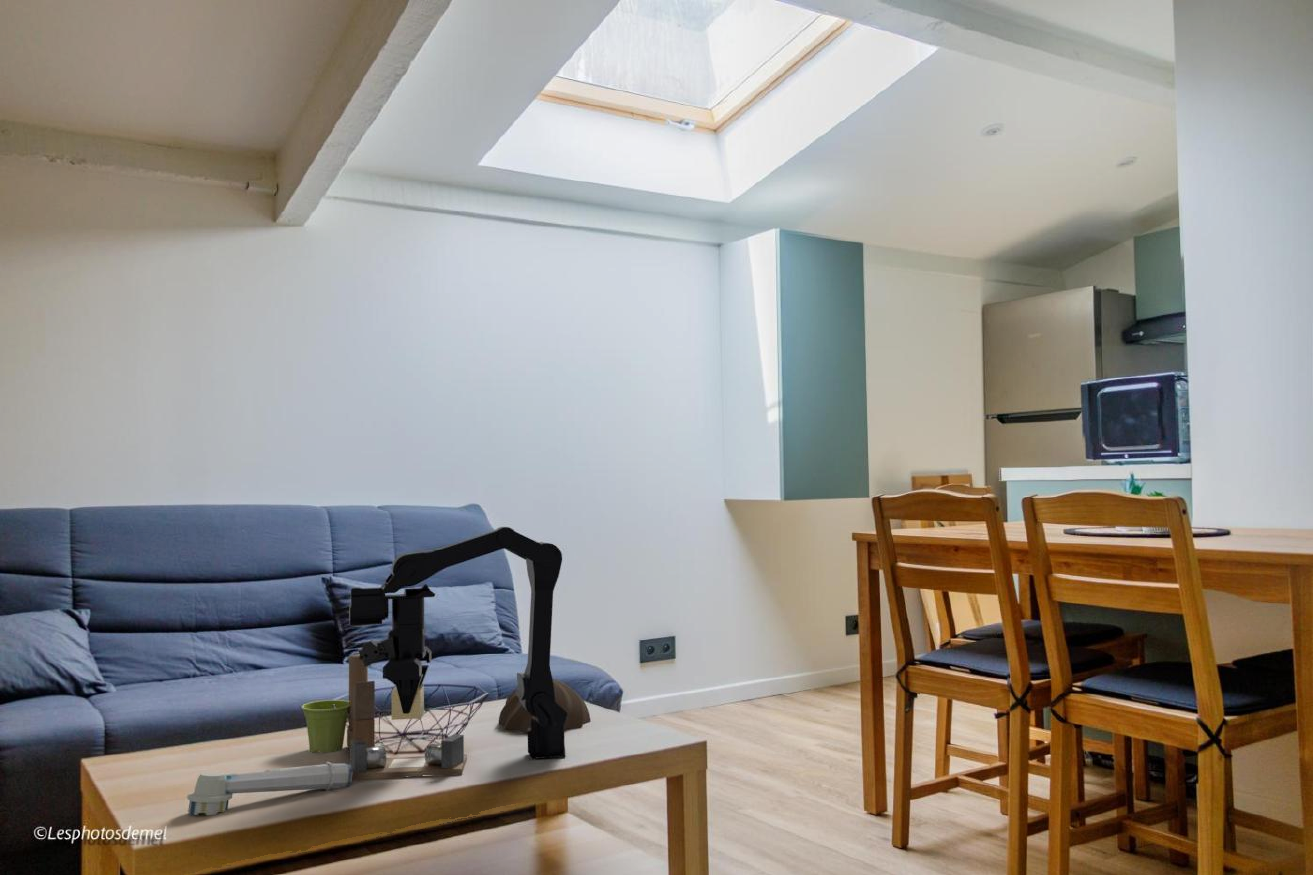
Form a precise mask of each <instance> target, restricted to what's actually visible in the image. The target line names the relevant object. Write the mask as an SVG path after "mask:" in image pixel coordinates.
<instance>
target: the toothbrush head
mask: <svg viewBox="0 0 1313 875" xmlns="http://www.w3.org/2000/svg"><path fill="white" fill-rule="evenodd" d="M352 773H353V772H352V767H351V765H350V763H346V762H345V763H331V762H330V761H326V763H324V764H314V765H313V764H311V765H305V766H293V767H285V768H284V767H283V768H274V769H265V770H256V771H255V770H253V771H246V772H245V771H243V772H238V773H237V772H235V773H226V772H221V771H206V772H203V773H200V774H199V776H198V777H197V780H196V784H195V787H194V790H193V791H190V792H189V793H187V797H186V799H187V800H188V801H189V802H188V803H189V804H188V810H187V812H188V813H189V814H190V815H194V816H198V815H199V814H205V816H216V815H217V813H220V812H221V813H225V812H226V811H227V810H228V808H229V800H232V798H233V795H234V794H248V793H249V794H250V793H252V794H253V793H266V792H268V793H269V792H270V793H271V792H282V791H283V792H287V791H288V792H289V791H291V792H292V791H304V790H307V791H308V790H309V791H310V790H326V791H330V790H331V789H339V788H346V787H350V785H351V783H352V781H353V780H352Z"/></svg>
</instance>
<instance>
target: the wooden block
mask: <svg viewBox="0 0 1313 875" xmlns="http://www.w3.org/2000/svg"><path fill="white" fill-rule="evenodd" d="M359 656H360V654H359V653H356V654H351V655H349V656H348V701H349V705H350V707H349V713H348V728H347V729H346V747H347V748H348V749H349V750H350V740H354V739H362V740H363V741H364V742H365V743H366V748H369V747H376V746H375V744H376V742H375V741H376V740H375V739H376V738H375V736H376V735H375V734H376V733H375V732H376V731H375V729H376V726H375V724H376V723H375V721H376V720H375V716H376V715H375V713H376V712H375V710H376V709H375V708H376V706H375V704H376V703H375V702H376V700H375V699H376V698H375V697H376V694H375V692H376V690H375V689H376V688H375V686H376V684H375V683H376V682H375V680H369V679H368V678H369V677H368V674H369V673H368V672H369V671H368V668H369V666H366V667H364V665H363V662H362V660H360V659H359ZM368 680H369V681H368Z"/></svg>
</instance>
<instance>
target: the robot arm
mask: <svg viewBox="0 0 1313 875" xmlns="http://www.w3.org/2000/svg"><path fill="white" fill-rule="evenodd" d="M504 549H505V550H506V551H508V552H510V553H512V554H514V555H516V556H517V557H519V558H521V559H523V560H525V562H526V563H525V564H526V572H527V578H528V581H529V586H530V608H529V629H528V649H527V664H526V667H525V670H524V672H523V673H521V672H518V673H516V681H517V686H516V687H517V690H516V693H515V694H516V695H517V696H518V697H519V701H520V703H521V705H522V706H523V707H524V708H525V709H526V710H527V711H528V712H529V713H530V715H531V717H532V718H534V719H532V720H531V728H528V734H527V753H528V754H529V756H530V759H547V758H548V759H551V758H552V759H553V758H554V759H555V758H565V757H566V747H565V742H566V741H565V731H564V724H565V721H566V718H567V712H566V711H565V710H564V709H563V708H561V707H560V706H559V705H558V704H557V703H556V702H555V691H554V683H553V679H554V678H553V675H552V671H551V644H552V624H553V621H552V620H553V607H554V606H553V602H554V601H553V600H554V590H555V588H556V584H557V582H558V579H559V577H560V572H561V567H562V563H563V553H562V551H561V550H560V548H559V547H557V545H555V544H553V543H551V542H542V541H539V542H537V541H536V540H534V539H532V538H529V537H527V536H526V535H523V534H521V533H519V532H517V531H515V530H514V529H513V528H511V527H508V526H500V527H498V528H496V529H494V530H492V531H489V532H486V533H483V534H480V535H476V536H473V537H471V538H467V539H464V540H462V541H458V542H455V543H452V544H448V545H445V546H443V547H440V548H435V549H427V550H425V549H424V550H420V551H419V550H418V551H413V552H412V551H411V552H404V553H401V554H399V555H398V556H396V557H395V558H394V559H393V561H392V563H391V567H390V570H391V572H390V574H389V575H388V577H387V578H386V579H385V580H384V581H383V582H382V584H381V586H380V587H351V588H350V604H349V605H348V608H349V609H348V612H349V614H348V617H349V618H348V619H349V624H348V625H349V627H361V626H363V627H364V626H376V625H378V626H379V625H383V621H385V620H386V619H389V607H390V606H389V600H391V629H390V630H389V631H388V636H387V637H386V638H383V639H380V640H378V641H376V642H375V641H374V640H373V639H372V640H369V641H368V642H364V643H363V644H362V648H360V649H358V654H360V656H359V659H360V660H362V662H363V665H364V667H366V666H368V667H369V666H371V665H372V664H373V663H376V662H378V661H381V660H383V659H386V658H387V661H388V662H387V663H386V664H384V666H383V667H382V679H383V680H385V679H386V680H387V681H390V683H392V684H393V685H394V686H395V687H396V688H397V691H398V695H399V699H400V703H401V707H402V711H403V713H404V714H408V713H410V710H411V707H412V705H413V702H414V699H415V696H416V693H417V690H418V687H419V685H423V683H424V680H425V678H426V675H427V673H428V669H429V667H430V665H428V664H429V663H431V662H432V650H431V649H430V648H429V647H428V646H426V645H425V633H426V632H427V626H426V625H425V598H434V597H435V596H436V593H435V592H433V591H432V590H431V589H430V588H429V585H428V584H427V583H423V584H422V586H421V587H417V588H416V587H415V588H412V587H414V586H416V585H418V584H420V583H422V582H424V581H426V580H428V579H429V578H430V579H431V577H434V576H435V575H436V574H438V573H439V572H441V571H443V570H445V569H447V568H450V567H453V566H455V565H459V564H462V563H464V562H468V561H471V560H474V559H476V558H481V557H482V556H485V555H488V554H489V555H490V554H491V553H494V552H497V551H500V550H504ZM404 587H411V588H404ZM403 588H404V591H403V593H399V594H397V592H399V591H400V590H402V589H403ZM395 593H396V594H395ZM422 662H426V663H427V664H423V663H422Z"/></svg>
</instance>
